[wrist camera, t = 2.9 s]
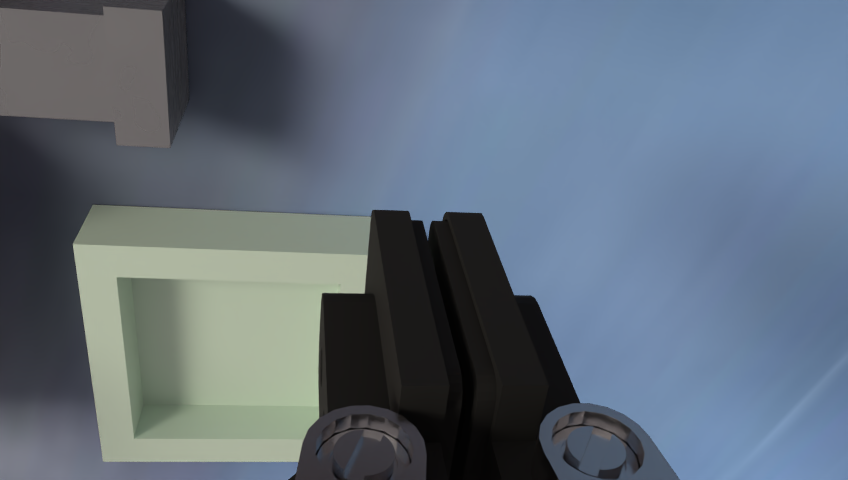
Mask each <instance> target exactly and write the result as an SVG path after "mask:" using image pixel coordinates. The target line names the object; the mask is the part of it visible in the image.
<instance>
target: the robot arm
mask: <svg viewBox="0 0 848 480" xmlns="http://www.w3.org/2000/svg"><path fill="white" fill-rule="evenodd" d="M318 388H319V419H318V420H317V421H316V422H315V423H314V424H313V425H312V426H311V427H310V428H309V429H308V431H307V433H306V436H305V438H304V440H303V443H302V447H301V452H300V457H299V462H298V467H297V472H296V474H295V475H294V476H292V477H291V478H290V479H288V480H680V479H679V478H678V476H677V475H676V473H675V472H674V471H673V469H672V468H671V466H670V465H669V463H668V462H667V461H666V459H665V458H664V456H663V455H662V453H661V452H660V451H659V449H658V448H657V446H656V445H655V444H654V442H653V441H652V439H651V438H650V436H649V435H648V434H647V433H646V432H645V431H644V430H643V429H642V428H641V427H640V426H639V424H637V423H636V422H634V421H633V420H631V419H630V418H628V417H627V416H626V415H624V414H622V413H620V412H617V411H615V410H613V409H610V408H608V407H604V406H599V405H595V404H590V403H580V401H579V399H578V397H577V394H576V392H575V389H574V387H573V385H572V382H571V380H570V378H569V375H568V373H567V371H566V368H565V366H564V364H563V361H562V359H561V357H560V354H559V352H558V349H557V347H556V345H555V342H554V340H553V338H552V335H551V333H550V331H549V328H548V326H547V324H546V321H545V319H544V317H543V314H542V312H541V310H540V307H539V305H538V303H537V301H536V299H535V298H534V297H532V296H519V295H514V294H513V292H512V289H511V286H510V284H509V281H508V279H507V276H506V273H505V271H504V268H503V266H502V263H501V261H500V258H499V255H498V253H497V250H496V248H495V245H494V243H493V240H492V237H491V235H490V232H489V230H488V227H487V224H486V222H485V219H484V217H483V215H482V213H460V212H446V213H445V214H444V217H443V221H432V222H431V225H430V230H429V238H428V240H427V236H426V232H425V229H424V225H423V222H422V221H418V220H411V217H410V213H409V211H394V210H373V211H372V215H371V222H370V234H369V246H368V258H367V270H366V282H365V293H322V298H321V312H320V332H319V365H318Z"/></svg>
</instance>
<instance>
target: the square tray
mask: <svg viewBox="0 0 848 480" xmlns="http://www.w3.org/2000/svg"><path fill="white" fill-rule="evenodd" d="M370 222H371V217H363V216H340V215H317V214H294V213H271V212H248V211H225V210H203V209H180V208H157V207H134V206H111V205H92V207H91V209H90V211H89V213H88V215H87V217H86V219H85V221H84V223H83V225H82V227H81V229H80V231H79V233H78V235H77V237H76V239H75V241H74V243H73V249H74V256H75V263H76V271H77V278H78V285H79V292H80V299H81V306H82V314H83V321H84V328H85V335H86V342H87V349H88V356H89V364H90V371H91V378H92V385H93V392H94V399H95V407H96V414H97V421H98V428H99V435H100V442H101V450H102V457H103V462H299V457H300V452H301V447H302V443H303V440H304V438H305V436H306V433H307V431H308V429H309V428H310V427H311V426H312V425H313V424H314V423H315V422H316V421H317V420H318V419H319V388H318V365H319V332H320V312H321V298H322V293H365V282H366V270H367V258H368V246H369V234H370Z"/></svg>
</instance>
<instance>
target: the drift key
mask: <svg viewBox="0 0 848 480" xmlns="http://www.w3.org/2000/svg"><path fill="white" fill-rule="evenodd" d="M188 101H189V80H188V58H187V36H186V15H185V0H0V115H1V116H18V117H36V118H53V119H71V120H88V121H105V122H114V124H115V134H116V144H117V145H123V146H142V147H160V148H171V145H172V143H173V140H174V137H175V135H176V132H177V130H178V127H179V125H180V122H181V119H182V117H183V114H184V112H185V109H186V107H187V104H188Z"/></svg>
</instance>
